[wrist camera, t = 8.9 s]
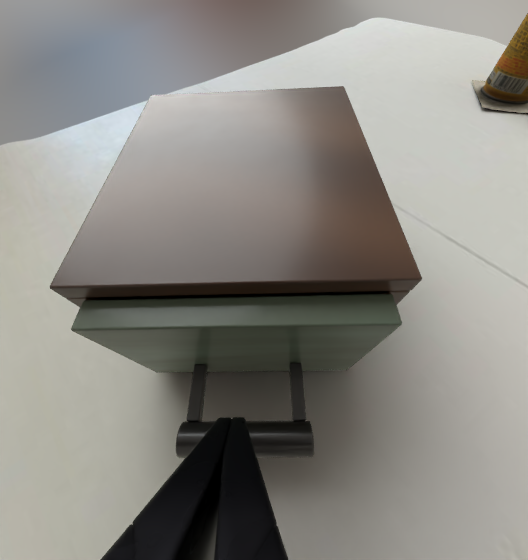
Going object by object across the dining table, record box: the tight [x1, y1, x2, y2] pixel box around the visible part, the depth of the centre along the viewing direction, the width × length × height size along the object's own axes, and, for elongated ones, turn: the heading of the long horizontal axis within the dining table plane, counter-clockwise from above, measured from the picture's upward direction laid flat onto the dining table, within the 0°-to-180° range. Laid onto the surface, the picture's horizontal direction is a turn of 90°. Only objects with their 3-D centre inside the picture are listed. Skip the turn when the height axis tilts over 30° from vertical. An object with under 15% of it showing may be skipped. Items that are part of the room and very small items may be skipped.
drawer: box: [71, 292, 402, 458], centre depth 14 cm, size 18×11×7 cm, turn 0°
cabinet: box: [50, 86, 422, 307], centre depth 16 cm, size 15×13×9 cm
